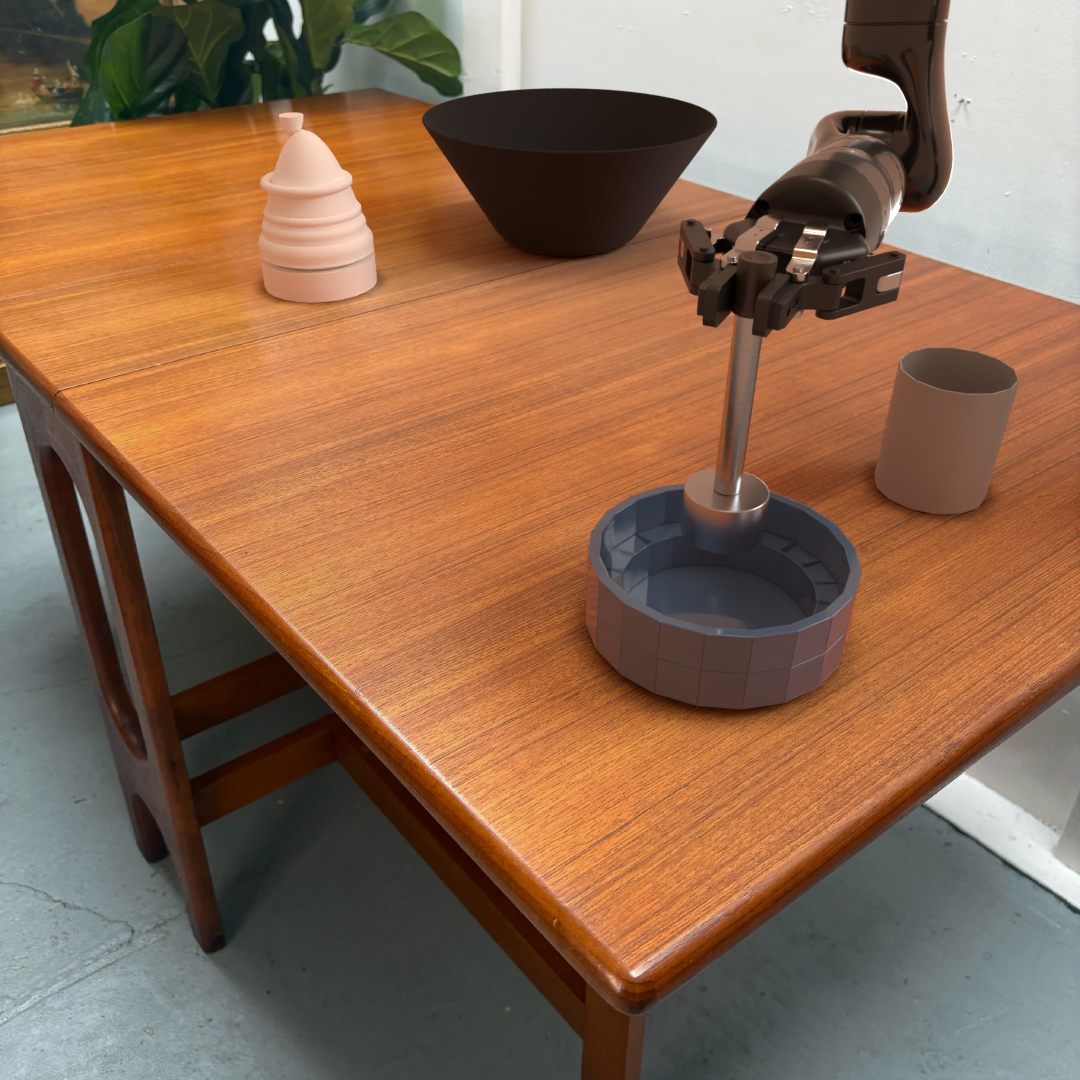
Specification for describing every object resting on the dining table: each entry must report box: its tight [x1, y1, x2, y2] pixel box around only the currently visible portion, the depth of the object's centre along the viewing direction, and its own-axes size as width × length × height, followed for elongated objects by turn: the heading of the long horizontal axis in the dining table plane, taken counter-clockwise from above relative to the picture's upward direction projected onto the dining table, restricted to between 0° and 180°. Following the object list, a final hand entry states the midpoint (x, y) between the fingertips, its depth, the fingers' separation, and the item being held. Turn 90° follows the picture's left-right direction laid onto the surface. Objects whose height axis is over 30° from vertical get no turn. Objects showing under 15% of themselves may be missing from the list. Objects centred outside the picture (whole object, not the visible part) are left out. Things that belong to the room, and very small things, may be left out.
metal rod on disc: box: [680, 250, 778, 554], centre depth 57 cm, size 5×5×17 cm
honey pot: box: [257, 111, 378, 304], centre depth 113 cm, size 13×13×18 cm
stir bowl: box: [585, 483, 863, 710], centre depth 64 cm, size 16×16×6 cm
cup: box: [873, 346, 1021, 515], centre depth 78 cm, size 8×8×10 cm
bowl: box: [421, 87, 718, 257], centre depth 127 cm, size 36×36×15 cm
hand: (735, 313), depth 51 cm, fingers closed on metal rod on disc
